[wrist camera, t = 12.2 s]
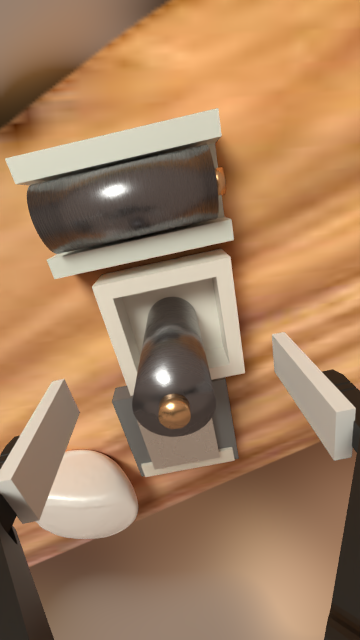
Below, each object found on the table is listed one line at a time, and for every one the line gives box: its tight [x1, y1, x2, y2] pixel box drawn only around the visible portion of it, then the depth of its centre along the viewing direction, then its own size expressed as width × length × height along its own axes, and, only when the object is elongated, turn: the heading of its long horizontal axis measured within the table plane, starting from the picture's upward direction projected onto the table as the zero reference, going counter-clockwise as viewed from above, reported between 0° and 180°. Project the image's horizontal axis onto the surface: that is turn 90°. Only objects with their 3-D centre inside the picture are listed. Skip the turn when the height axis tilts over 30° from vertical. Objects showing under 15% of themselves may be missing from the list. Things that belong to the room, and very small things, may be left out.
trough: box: [5, 108, 234, 279], centre depth 19 cm, size 13×8×3 cm, turn 102°
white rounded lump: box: [35, 450, 138, 539], centre depth 29 cm, size 10×11×12 cm
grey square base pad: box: [112, 377, 239, 477], centre depth 29 cm, size 11×11×2 cm
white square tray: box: [92, 249, 245, 396], centre depth 23 cm, size 10×10×4 cm
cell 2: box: [132, 297, 216, 437], centre depth 19 cm, size 4×4×12 cm
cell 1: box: [27, 144, 226, 254], centre depth 18 cm, size 12×4×4 cm, turn 102°
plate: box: [137, 418, 220, 470], centre depth 28 cm, size 7×7×1 cm
